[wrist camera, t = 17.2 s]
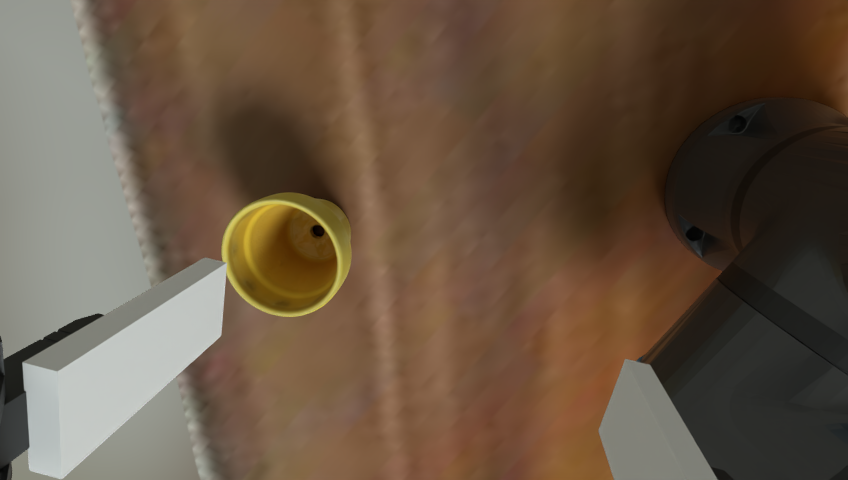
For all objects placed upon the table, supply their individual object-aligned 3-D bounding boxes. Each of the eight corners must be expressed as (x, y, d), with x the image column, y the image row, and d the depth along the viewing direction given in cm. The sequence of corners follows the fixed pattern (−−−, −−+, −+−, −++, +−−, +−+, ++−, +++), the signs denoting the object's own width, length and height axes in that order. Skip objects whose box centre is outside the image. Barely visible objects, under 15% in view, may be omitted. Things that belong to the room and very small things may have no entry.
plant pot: (320, 156, 47) (278, 171, 38) (391, 236, 48) (367, 270, 39) (250, 222, 50) (195, 251, 41) (319, 296, 51) (281, 341, 42)
